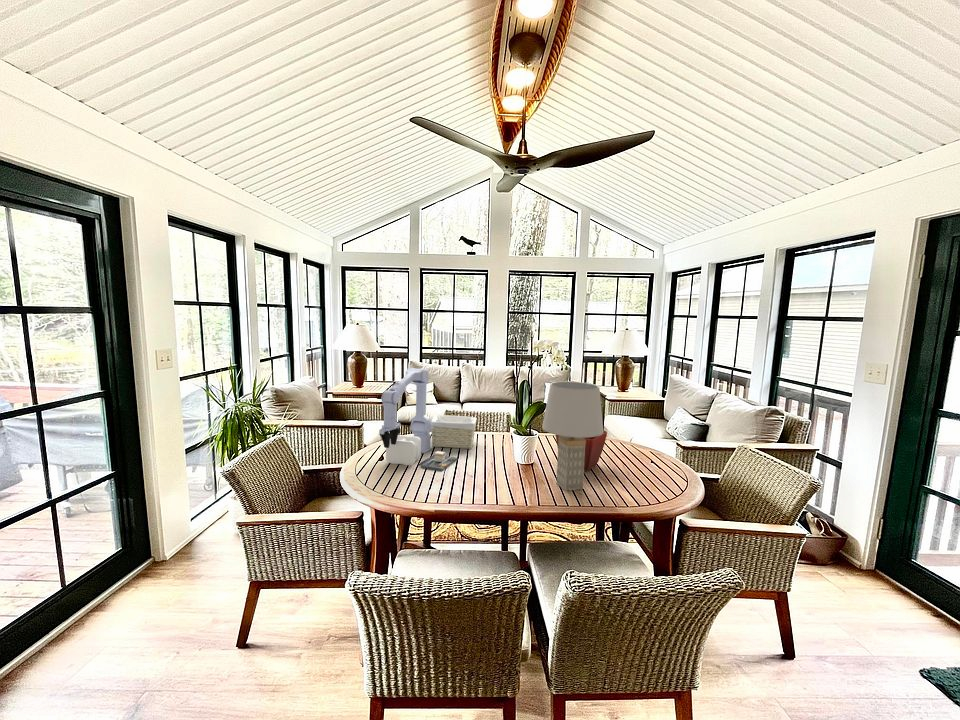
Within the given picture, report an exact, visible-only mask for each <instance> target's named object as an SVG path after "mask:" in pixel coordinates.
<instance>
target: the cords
mask: <svg viewBox="0 0 960 720" xmlns="http://www.w3.org/2000/svg"><path fill="white" fill-rule="evenodd" d="M433 457H434V454H433V455H431V456H429V457H428V458H426V459H424V460H423V461H421V462H420V463H418V465H417V466H419V467H421V465H422V464H423V463H425V462H426V461H428V460H430V459H431V458H433Z"/></svg>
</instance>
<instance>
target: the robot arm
mask: <svg viewBox="0 0 960 720" xmlns="http://www.w3.org/2000/svg"><path fill="white" fill-rule="evenodd" d="M411 383H413V384H414V385H415V387H416V388H415V389H416V392H415V397H416V398H415V401H416V402H415V415H414V416H413V417H412V418H411V423H410V431H411V432H412V434H413V436H415V437H419V438H420V439H421V454H424V453H427V452H428V451H429V450H432V449H433V446H431V445H432V435H431V434H430V433H432V431H431V428H432V425H431V421H432V419H431V418H430V417H429V416H428V415H427V385H428V384H429V371H428V370H427V368H413V367H409V368H407V370H406V371H405V375H404V376H403V378H402V379H401V380H400V381H396V382H395V383H394V384H393V385H392V386H391V387H390V388H388V389H387V390H384V391H383V392H382V394H381V397H380V399H381V402H382V407H383V425H381V428H380V429H379V431H378V434H379V436H380V438H381V440H382V443H383V444H382V445H383V447H384V448H385V449H386V448H389V445H390V440H391V444H394V445H395V444H396V441H397V437H398V435H400V432H401V431H402V430H401V423H400V422H397V419H398V418H397V415H398V410H397V409H398V405H397V404H398V403H399V401H400V398H401V396H402V395H403V394H404V392H405V391H406V390H407V386H408V385H410V384H411Z"/></svg>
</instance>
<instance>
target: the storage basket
mask: <svg viewBox="0 0 960 720" xmlns="http://www.w3.org/2000/svg"><path fill="white" fill-rule="evenodd" d="M477 419H478V418H477V417H475V416H468V415H467V416H465V415H450V414H448V415H447V414H435V415H434V416H433V418H432V419H431V425H432V428H431V445H432V446H431V447H434V448H435V447H436V448H453V449H468V450H469V449H472V448H473V444H474V440H475V431H476V424H477Z"/></svg>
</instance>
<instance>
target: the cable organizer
mask: <svg viewBox="0 0 960 720" xmlns="http://www.w3.org/2000/svg"><path fill="white" fill-rule="evenodd" d="M421 455H422V453H421V439H420V438H419V437H415V436H414V435H413V436H411V435H402V434H399V435H398V437H397V441H396V444H395V445H394V444H391V440H390V445H389V448H385V460H386V462H388V463H389V464H391V465H404V466H412V465H413V464H415V463H416V460H418V459H420V458H421Z"/></svg>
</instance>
